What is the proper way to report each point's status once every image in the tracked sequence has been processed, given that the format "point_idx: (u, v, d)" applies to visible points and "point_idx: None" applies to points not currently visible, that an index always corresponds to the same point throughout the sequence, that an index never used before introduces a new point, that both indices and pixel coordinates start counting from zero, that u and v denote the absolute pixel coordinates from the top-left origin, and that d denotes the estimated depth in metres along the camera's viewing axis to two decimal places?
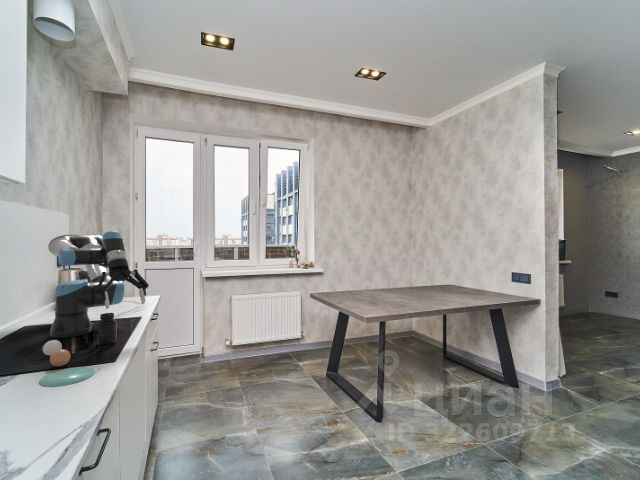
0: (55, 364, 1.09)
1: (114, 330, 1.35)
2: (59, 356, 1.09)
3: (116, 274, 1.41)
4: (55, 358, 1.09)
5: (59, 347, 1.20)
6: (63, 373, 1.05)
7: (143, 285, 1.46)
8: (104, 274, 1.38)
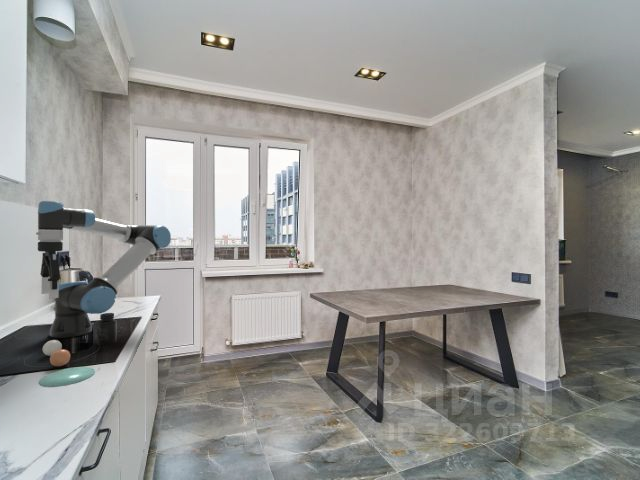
0: (55, 364, 1.09)
1: (114, 330, 1.35)
2: (59, 356, 1.09)
3: (43, 259, 1.27)
4: (55, 358, 1.09)
5: (59, 347, 1.20)
6: (63, 373, 1.05)
7: (50, 277, 1.21)
8: (42, 257, 1.30)
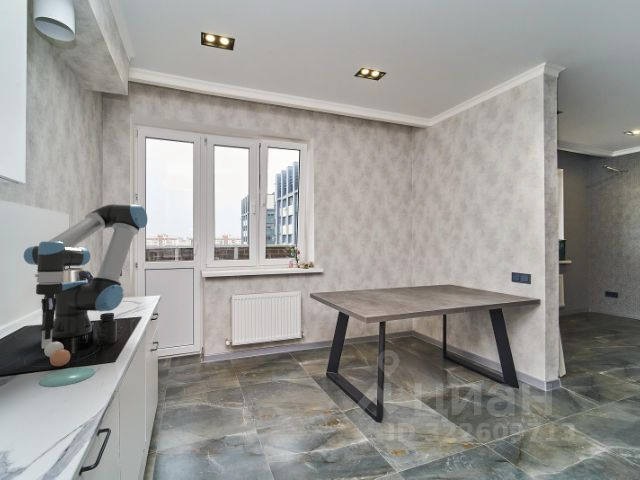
0: (55, 364, 1.09)
1: (114, 330, 1.35)
2: (59, 356, 1.09)
3: (42, 303, 1.20)
4: (55, 358, 1.09)
5: None
6: (63, 373, 1.05)
7: (43, 328, 1.18)
8: None
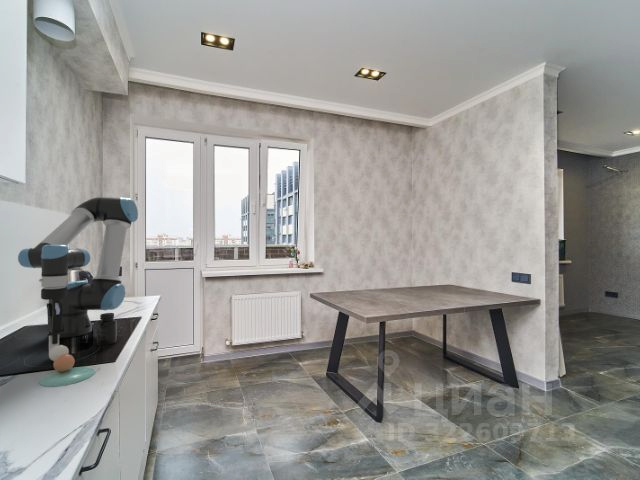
0: None
1: (114, 330, 1.35)
2: None
3: (47, 308, 1.18)
4: None
5: None
6: (63, 373, 1.05)
7: (51, 333, 1.16)
8: None
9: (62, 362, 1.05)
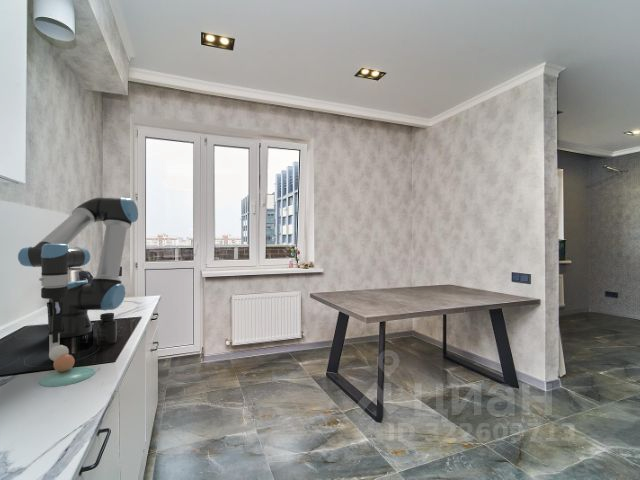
0: None
1: (114, 330, 1.35)
2: None
3: (47, 307, 1.18)
4: None
5: None
6: (63, 373, 1.05)
7: (51, 331, 1.17)
8: (47, 307, 1.21)
9: (62, 362, 1.05)
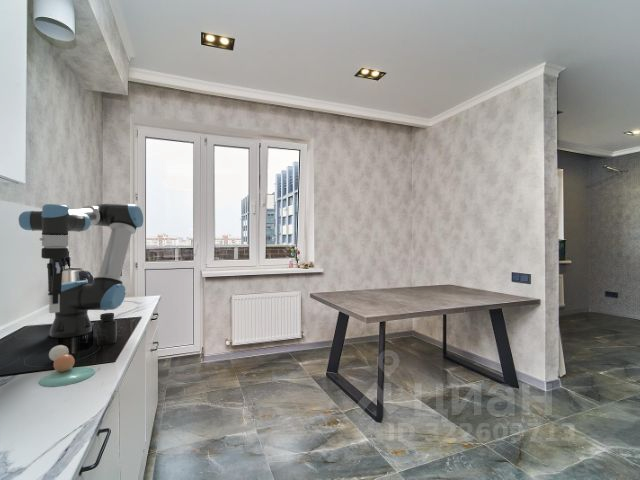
0: None
1: (114, 330, 1.35)
2: None
3: None
4: None
5: None
6: (63, 373, 1.05)
7: (51, 292, 1.16)
8: None
9: (62, 362, 1.05)
